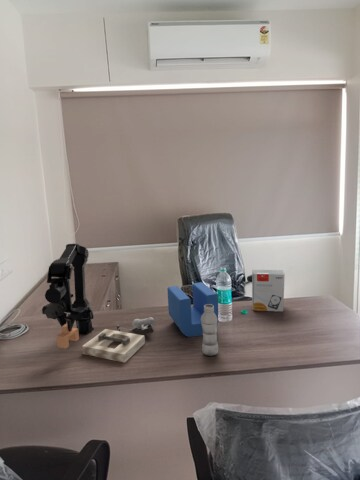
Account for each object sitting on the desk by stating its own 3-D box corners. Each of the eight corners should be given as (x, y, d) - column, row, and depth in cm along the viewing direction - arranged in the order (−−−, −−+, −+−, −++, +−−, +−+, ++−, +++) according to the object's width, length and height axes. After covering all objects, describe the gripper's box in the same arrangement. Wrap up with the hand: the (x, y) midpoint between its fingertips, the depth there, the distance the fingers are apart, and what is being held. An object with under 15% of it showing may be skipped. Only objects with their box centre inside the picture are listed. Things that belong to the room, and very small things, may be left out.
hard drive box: (252, 311, 171) (252, 273, 167) (251, 305, 179) (251, 269, 175) (284, 311, 169) (284, 273, 165) (282, 306, 176) (282, 269, 172)
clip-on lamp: (115, 344, 150) (154, 336, 148) (111, 332, 148) (149, 323, 146) (120, 330, 161) (156, 322, 159) (116, 319, 159) (152, 310, 157)
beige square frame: (83, 353, 137) (81, 341, 136) (106, 336, 151) (105, 325, 150) (124, 362, 129) (123, 350, 128) (145, 343, 144) (144, 331, 142)
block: (203, 316, 168) (202, 281, 164) (218, 331, 151) (217, 293, 148) (169, 322, 163) (167, 287, 159) (181, 339, 146) (179, 300, 142)
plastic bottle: (214, 359, 129) (213, 310, 125) (198, 355, 132) (197, 307, 128) (221, 351, 134) (220, 304, 130) (206, 347, 137) (205, 301, 134)
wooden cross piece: (57, 346, 132) (55, 328, 130) (71, 337, 139) (69, 320, 138) (65, 348, 130) (63, 330, 129) (79, 339, 137) (77, 321, 136)
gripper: (28, 298, 127) (34, 336, 130) (67, 303, 120) (72, 344, 123) (50, 288, 137) (54, 324, 140) (87, 293, 130) (91, 330, 133)
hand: (67, 330), depth 134 cm, fingers closed on wooden cross piece, 2 cm apart
